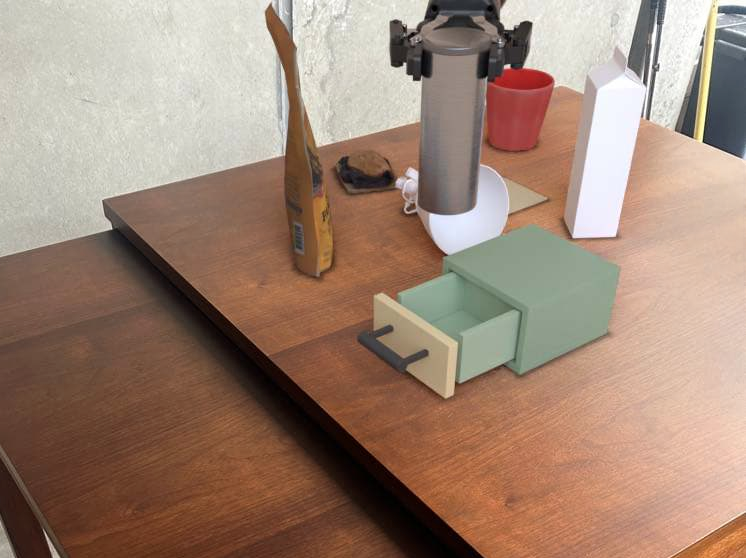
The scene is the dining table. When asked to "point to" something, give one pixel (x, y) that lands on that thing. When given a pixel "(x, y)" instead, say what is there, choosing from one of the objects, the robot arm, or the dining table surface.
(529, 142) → the flower pot
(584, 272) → the cabinet
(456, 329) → the drawer
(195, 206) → the dining table surface
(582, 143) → the milk
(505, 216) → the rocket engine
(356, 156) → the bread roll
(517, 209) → the mat
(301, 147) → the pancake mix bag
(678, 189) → the dining table surface
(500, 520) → the dining table surface
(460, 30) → the silver tall cylinder
